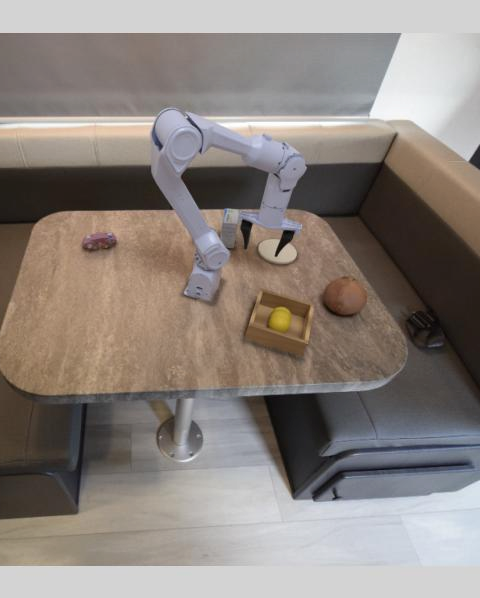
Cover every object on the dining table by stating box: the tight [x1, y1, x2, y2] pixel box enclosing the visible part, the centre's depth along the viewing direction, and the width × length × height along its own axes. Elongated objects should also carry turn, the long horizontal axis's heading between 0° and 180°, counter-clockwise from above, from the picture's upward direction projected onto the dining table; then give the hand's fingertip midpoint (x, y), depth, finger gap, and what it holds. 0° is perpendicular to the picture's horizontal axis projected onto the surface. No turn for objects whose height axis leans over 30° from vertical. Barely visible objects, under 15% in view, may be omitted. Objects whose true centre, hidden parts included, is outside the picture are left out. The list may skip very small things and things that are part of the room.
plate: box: [257, 238, 298, 265], centre depth 102 cm, size 11×11×1 cm
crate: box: [244, 288, 315, 357], centre depth 80 cm, size 13×13×5 cm
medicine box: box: [219, 207, 240, 250], centre depth 103 cm, size 8×4×9 cm, turn 168°
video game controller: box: [81, 231, 117, 251], centre depth 100 cm, size 10×5×7 cm, turn 105°
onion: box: [323, 274, 368, 317], centre depth 84 cm, size 10×9×10 cm
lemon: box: [268, 307, 291, 333], centre depth 80 cm, size 7×5×5 cm, turn 157°
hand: (260, 250), depth 88 cm, fingers open, 7 cm apart
